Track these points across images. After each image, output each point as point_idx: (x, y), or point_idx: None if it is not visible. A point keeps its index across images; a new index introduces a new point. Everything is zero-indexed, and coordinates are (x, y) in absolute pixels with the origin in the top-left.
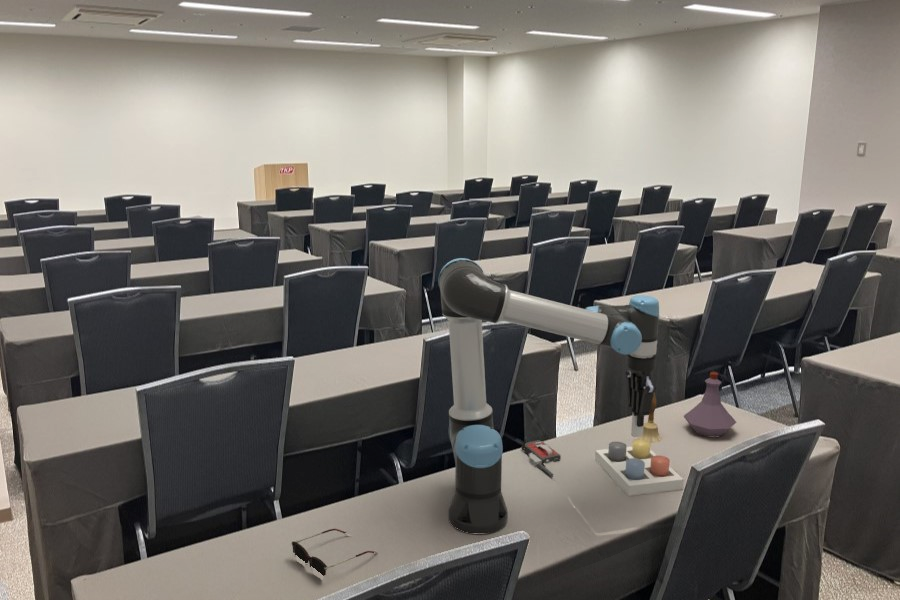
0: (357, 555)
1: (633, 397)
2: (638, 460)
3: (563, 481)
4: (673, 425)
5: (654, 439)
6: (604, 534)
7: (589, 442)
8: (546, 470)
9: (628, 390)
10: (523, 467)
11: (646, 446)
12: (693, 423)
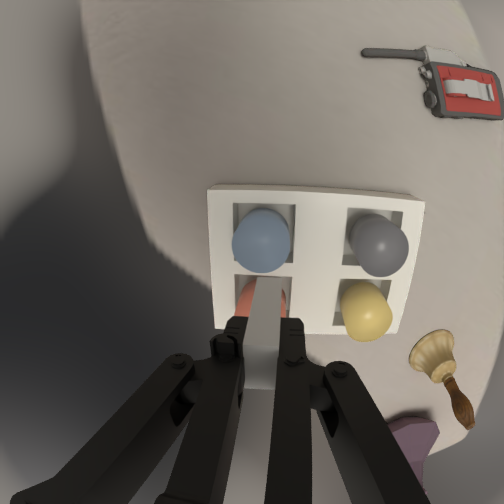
0: None
1: (280, 439)
2: (270, 261)
3: (341, 70)
4: (443, 398)
5: (420, 359)
6: (106, 86)
7: (483, 235)
8: (388, 49)
9: (379, 457)
10: (421, 27)
11: (345, 324)
12: (406, 427)
